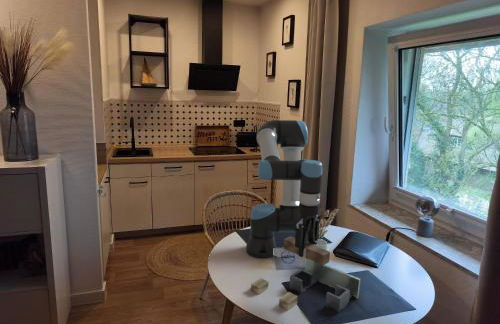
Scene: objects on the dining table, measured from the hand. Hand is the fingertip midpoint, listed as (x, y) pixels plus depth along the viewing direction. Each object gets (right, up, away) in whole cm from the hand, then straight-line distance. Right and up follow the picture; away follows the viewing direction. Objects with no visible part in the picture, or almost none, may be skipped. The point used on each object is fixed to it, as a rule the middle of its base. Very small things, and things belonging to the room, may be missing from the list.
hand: (305, 261), depth 133 cm
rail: (0, +3, -1) cm, 3 cm away
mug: (+9, -10, +24) cm, 28 cm away
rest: (-12, -14, +2) cm, 19 cm away
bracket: (+8, -14, +6) cm, 17 cm away
